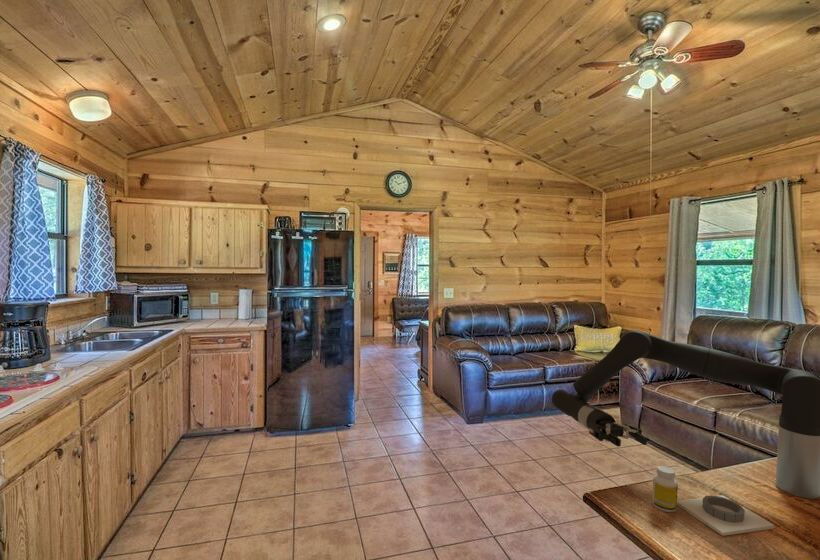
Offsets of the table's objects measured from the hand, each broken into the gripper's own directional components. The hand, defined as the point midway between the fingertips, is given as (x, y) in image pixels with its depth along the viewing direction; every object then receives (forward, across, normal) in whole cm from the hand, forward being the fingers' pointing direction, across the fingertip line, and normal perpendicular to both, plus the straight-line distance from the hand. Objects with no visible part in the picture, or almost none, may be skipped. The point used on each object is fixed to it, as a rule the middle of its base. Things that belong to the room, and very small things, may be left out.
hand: (632, 442), depth 118 cm
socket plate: (+18, +12, +12) cm, 24 cm away
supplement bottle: (+12, 0, +12) cm, 17 cm away
